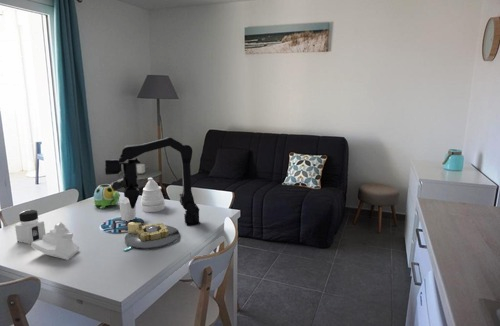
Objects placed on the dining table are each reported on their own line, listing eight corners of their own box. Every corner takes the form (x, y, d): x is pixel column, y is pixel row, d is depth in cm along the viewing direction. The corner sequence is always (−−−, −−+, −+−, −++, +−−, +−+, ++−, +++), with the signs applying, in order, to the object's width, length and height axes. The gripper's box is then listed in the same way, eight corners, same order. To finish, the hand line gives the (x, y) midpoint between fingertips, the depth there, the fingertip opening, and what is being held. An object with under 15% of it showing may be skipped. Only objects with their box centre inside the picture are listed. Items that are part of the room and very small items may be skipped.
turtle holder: (109, 211, 179) (107, 190, 177) (89, 206, 188) (87, 186, 186) (128, 205, 190) (127, 185, 187) (108, 200, 199) (106, 181, 197)
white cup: (131, 222, 164) (130, 203, 162) (117, 221, 165) (115, 202, 164) (139, 217, 171) (138, 198, 170) (126, 216, 173) (124, 197, 171)
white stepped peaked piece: (60, 248, 139) (67, 215, 139) (82, 260, 132) (89, 225, 131) (29, 253, 128) (36, 217, 128) (51, 266, 121) (59, 228, 120)
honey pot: (161, 212, 179) (159, 180, 176) (137, 211, 180) (135, 180, 176) (167, 204, 192) (165, 174, 188) (145, 204, 192) (143, 174, 189)
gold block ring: (175, 229, 151) (175, 221, 150) (158, 243, 137) (158, 234, 136) (139, 225, 156) (138, 217, 155) (119, 238, 141) (118, 229, 141)
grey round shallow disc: (175, 225, 160) (174, 215, 160) (182, 244, 139) (182, 233, 138) (124, 231, 153) (123, 221, 152) (123, 253, 131) (122, 241, 130)
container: (46, 237, 146) (42, 209, 144) (29, 244, 139) (26, 215, 137) (33, 234, 149) (30, 207, 146) (16, 241, 142) (12, 213, 139)
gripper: (112, 170, 155) (114, 201, 158) (110, 179, 138) (113, 214, 141) (137, 168, 159) (139, 199, 162) (138, 177, 142) (140, 211, 145)
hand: (132, 205), depth 152 cm, fingers open, 8 cm apart
